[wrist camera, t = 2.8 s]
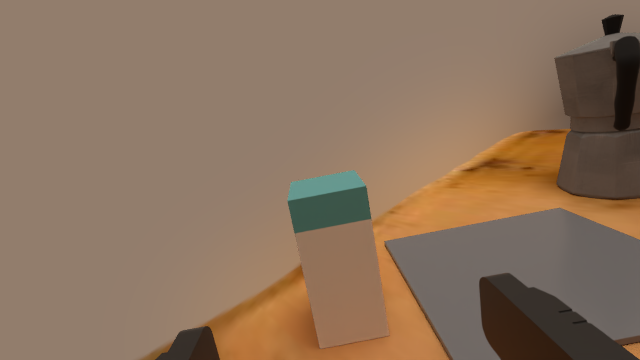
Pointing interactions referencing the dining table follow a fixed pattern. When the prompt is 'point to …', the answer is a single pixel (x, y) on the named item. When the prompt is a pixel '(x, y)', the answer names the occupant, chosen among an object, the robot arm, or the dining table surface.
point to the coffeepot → (602, 115)
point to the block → (338, 258)
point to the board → (522, 274)
